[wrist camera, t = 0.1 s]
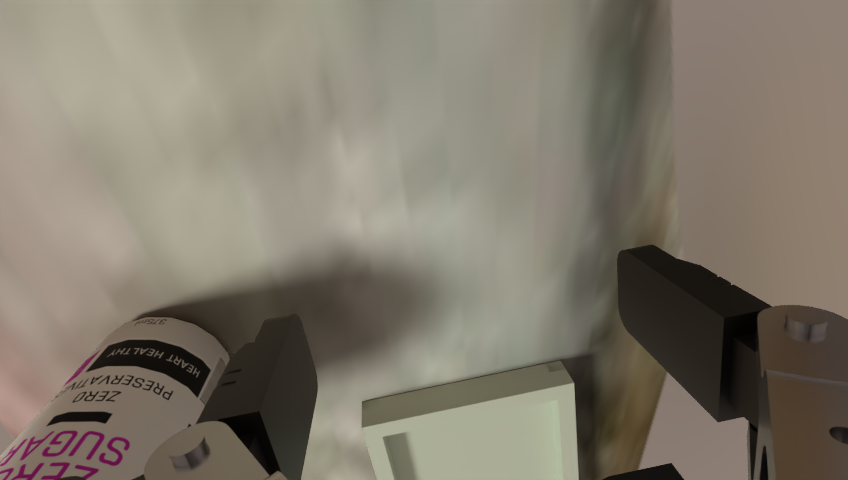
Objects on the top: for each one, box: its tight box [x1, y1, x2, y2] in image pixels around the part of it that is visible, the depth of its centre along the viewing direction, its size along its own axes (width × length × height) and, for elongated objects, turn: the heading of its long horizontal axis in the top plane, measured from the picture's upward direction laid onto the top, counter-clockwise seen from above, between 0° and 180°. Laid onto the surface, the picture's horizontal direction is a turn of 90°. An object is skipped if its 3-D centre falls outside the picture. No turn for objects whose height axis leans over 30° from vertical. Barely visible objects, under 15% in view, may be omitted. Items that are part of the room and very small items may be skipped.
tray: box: [362, 360, 579, 480], centre depth 36 cm, size 17×15×2 cm
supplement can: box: [0, 317, 230, 480], centre depth 24 cm, size 8×8×15 cm
